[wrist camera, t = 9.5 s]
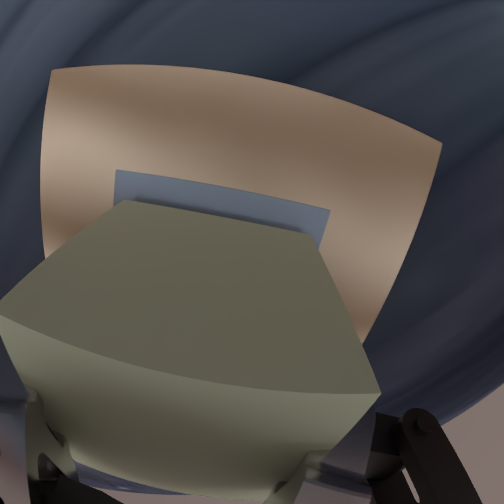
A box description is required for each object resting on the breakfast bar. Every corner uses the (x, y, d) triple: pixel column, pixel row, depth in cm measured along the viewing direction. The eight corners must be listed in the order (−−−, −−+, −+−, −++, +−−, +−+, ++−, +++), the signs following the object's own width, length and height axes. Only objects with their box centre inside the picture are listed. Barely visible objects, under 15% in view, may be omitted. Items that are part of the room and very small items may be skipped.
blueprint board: (63, 71, 8) (50, 69, 7) (431, 141, 9) (443, 143, 8) (73, 353, 14) (67, 363, 13) (317, 400, 15) (320, 411, 14)
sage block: (124, 199, 8) (-9, 309, 3) (310, 234, 9) (381, 393, 3) (126, 339, 11) (74, 460, 5) (266, 366, 11) (272, 501, 6)
